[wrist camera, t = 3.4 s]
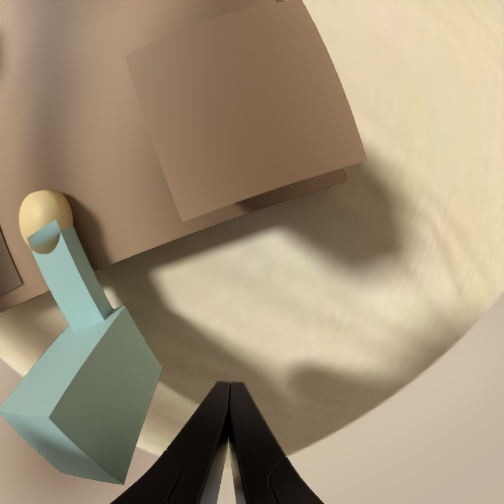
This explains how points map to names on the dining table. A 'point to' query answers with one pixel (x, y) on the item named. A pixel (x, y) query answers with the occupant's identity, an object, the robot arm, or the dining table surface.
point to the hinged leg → (81, 360)
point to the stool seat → (161, 120)
